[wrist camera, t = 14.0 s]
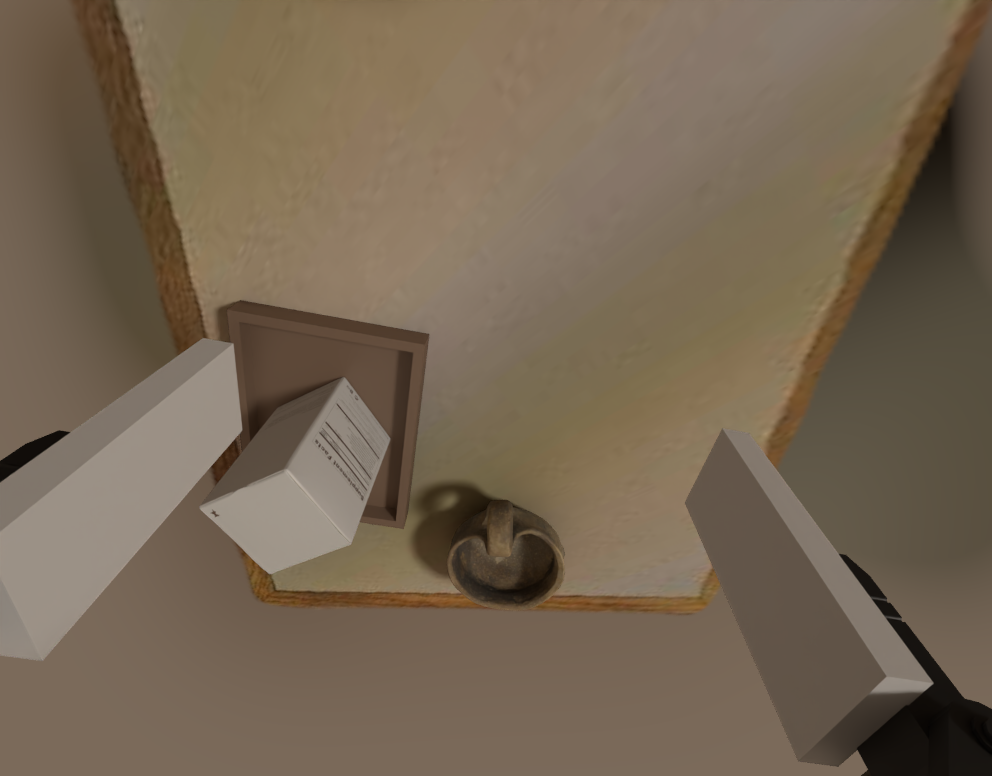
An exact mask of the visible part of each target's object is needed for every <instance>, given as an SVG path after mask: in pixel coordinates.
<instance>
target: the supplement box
mask: <svg viewBox="0 0 992 776" xmlns="http://www.w3.org/2000/svg"><path fill="white" fill-rule="evenodd" d="M389 442H390V437H389V436H388V434H387V433H386V432H385V430H384V429H383V428H382V426H381V425H380V424H379V422H378V421H377V420H376V418H375V417H374V415H373V414H372V413H371V411H370V410H369V409H368V407H367V406H366V405H365V403H364V402H363V401H362V399H361V398H360V397H359V395H358V394H357V393H356V391H355V390H354V389H353V387H352V386H351V385H350V383H349V382H348V381H347V379H346V378H345V377H342V378H339V379H337V380H335V381H333V382H331V383H329V384H326V385H324V386H322V387H320V388H318V389H316V390H314V391H312V392H309V393H307V394H305V395H303V396H301V397H299V398H297V399H295V400H292V401H290V402H288V403H286V404H284V405H282V406H280V407H278V408H277V409H276V410H275V411H274V413H273V414H272V415H271V416H270V418H269V419H268V420H267V421H266V423H265V424H264V425H263V426H262V428H261V429H260V430H259V431H258V433H257V434H256V435H255V436H254V438H253V439H252V440H251V442H250V443H249V444H248V445H247V447H246V448H245V449H244V450H243V452H242V453H241V454H240V456H239V457H238V458H237V459H236V461H235V462H234V463H233V464H232V466H231V467H230V468H229V469H228V471H227V472H226V473H225V475H224V476H223V477H222V478H221V480H220V481H219V482H218V483H217V485H216V486H215V487H214V488H213V490H212V491H211V492H210V494H209V495H208V496H207V497H206V499H205V500H204V501H203V502H202V504H201V505H200V506H199V508H200V510H201V511H202V512H204V513H205V514H206V515H207V516H208V517H209V518H210V519H211V520H213V521H214V522H215V523H216V524H217V525H218V526H219V527H220V528H221V529H222V530H223V531H224V532H225V533H226V534H228V535H229V536H230V537H231V538H232V539H233V540H234V541H235V542H236V543H237V544H238V545H239V546H240V547H241V548H242V549H243V550H244V551H245V552H246V553H247V554H248V555H249V556H250V557H251V558H252V559H253V560H254V561H255V562H256V563H257V564H258V565H259V566H260V567H262V568H263V569H264V570H265V571H266V572H268V573H269V574H272V573H274V572H277V571H279V570H282V569H285V568H288V567H290V566H293V565H296V564H298V563H301V562H304V561H307V560H309V559H312V558H315V557H318V556H320V555H323V554H326V553H328V552H331V551H334V550H337V549H340V548H342V547H345V546H348V545H351V543H352V540H353V538H354V535H355V532H356V530H357V527H358V524H359V522H360V519H361V516H362V514H363V511H364V508H365V506H366V503H367V500H368V498H369V495H370V492H371V490H372V487H373V484H374V482H375V479H376V476H377V474H378V471H379V468H380V466H381V463H382V460H383V458H384V455H385V452H386V450H387V447H388V445H389Z"/></svg>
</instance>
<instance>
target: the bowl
mask: <svg viewBox="0 0 992 776" xmlns="http://www.w3.org/2000/svg"><path fill="white" fill-rule="evenodd" d="M564 556H565V552H564V548H563V546H562V545H561V543H560V540H559V537H558V535H557V533H556V532H555V530H554V529H553V528H552V527H551V526H550V525H549V524H548V523H547V522H546V521H545V520H544V519H542V518H541V517H539V516H537V515H535V514H533V513H531V512H529V511H527V510H523V509H520V508H515V507H513V505H512V503H511V502H510V501H508V500H495V501H490V502H489V504H488V505H487V509H486V510H484V511H482V512H480V513H478V514H476V515H474V516H473V517H471V518H470V519H468V520H467V521H465V522H464V523H463V524H462V525H461V526H460V527H459V528H458V529H457V531H456V533H455V535H454V537H453V539H452V543H451V548H450V551H449V553H448V558H447V570H448V574H449V577H450V579H451V581H452V583H453V585H454V586H455V587H456V588H457V589H458V590H459V591H460V592H461V593H462V594H463V595H465V596H466V597H467V598H468V599H470V600H471V601H473V602H474V603H476V604H479V605H483V606H485V607H490V608H495V609H502V610H507V609H509V610H523V609H530V608H534V607H535V606H537V605H539V604H542V603H543V602H544V601H546V600H547V599H548V598H550V597H551V596H552V595H553V594H554V593H555V592H556V591H557V590H558V589H559V587H560V586H561V584H562V582H563V580H564V575H565V569H564Z"/></svg>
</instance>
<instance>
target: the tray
mask: <svg viewBox="0 0 992 776" xmlns="http://www.w3.org/2000/svg"><path fill="white" fill-rule="evenodd" d="M227 317H228V327H229V336H230V343H233V344H234V354H235V363H236V373H237V383H238V392H239V402H240V412H241V421H242V431H241V432H240V438H241V448H242V452H243V450H244V449H245V448H246V447H247V445H248V444H249V443H250V442H251V440H252V439H253V438H254V436H255V435H256V434H257V433H258V431H259V430H260V429H261V428H262V426H263V425H264V424H265V423H266V421H267V420H268V419H269V418H270V416H271V415H272V414H273V413H274V411H275V410H276V409H277V408H278V407H280V406H282V405H284V404H286V403H288V402H290V401H292V400H295V399H297V398H299V397H301V396H303V395H305V394H307V393H309V392H312V391H314V390H316V389H318V388H320V387H322V386H324V385H326V384H329V383H331V382H333V381H335V380H337V379H339V378H342V377H345V378H346V379H347V381H348V382H349V383H350V385H351V386H352V387H353V389H354V390H355V391H356V393H357V394H358V395H359V397H360V398H361V399H362V401H363V402H364V403H365V405H366V406H367V407H368V409H369V410H370V411H371V413H372V414H373V415H374V417H375V418H376V420H377V421H378V422H379V424H380V425H381V426H382V428H383V429H384V430H385V432H386V433H387V434H388V436H389V437H390V442H389V445H388V447H387V450H386V452H385V455H384V458H383V460H382V463H381V466H380V468H379V471H378V474H377V476H376V479H375V482H374V484H373V487H372V490H371V492H370V495H369V498H368V500H367V503H366V506H365V508H364V511H363V514H362V516H361V519H360V522H362V523H369V524H375V525H382V526H388V527H395V528H401V529H404V526H405V522H406V518H407V515H408V508H409V500H410V491H411V483H412V475H413V466H414V458H415V450H416V441H417V433H418V424H419V416H420V408H421V399H422V391H423V383H424V374H425V366H426V358H427V349H428V341H429V334H426V333H420V332H414V331H409V330H403V329H398V328H392V327H386V326H381V325H375V324H370V323H364V322H359V321H353V320H347V319H342V318H336V317H331V316H325V315H319V314H314V313H308V312H303V311H297V310H292V309H286V308H280V307H275V306H269V305H264V304H258V303H252V302H247V301H241V300H240V301H239V302H237V303H236V304H234V305H233V306H231V307H230V308H228V309H227Z"/></svg>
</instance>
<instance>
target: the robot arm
mask: <svg viewBox="0 0 992 776" xmlns="http://www.w3.org/2000/svg"><path fill="white" fill-rule="evenodd" d="M241 431H242V421H241V412H240V402H239V392H238V383H237V373H236V363H235V354H234V344H233V343H228V342H223V341H217V340H211V339H205V338H202V339H201V340H200V341H198V342H197V343H195V344H194V345H193V346H191V347H190V348H188V349H187V350H186V351H184V352H183V353H181V354H180V355H179V356H177V357H176V358H174V359H173V360H172V361H170V362H169V363H167V364H166V365H165V366H163V367H162V368H160V369H159V370H158V371H156V372H155V373H153V374H152V375H150V376H149V377H148V378H146V379H145V380H143V381H142V382H141V383H139V384H138V385H137V386H135V387H134V388H132V389H131V390H130V391H128V392H127V393H125V394H124V395H123V396H121V397H120V398H118V399H117V400H116V401H114V402H113V403H111V404H110V405H108V406H107V407H106V408H104V409H103V410H101V411H100V412H99V413H97V414H96V415H94V416H93V417H92V418H90V419H89V420H87V421H86V422H85V423H83V424H82V425H80V426H79V427H77V428H76V429H75V430H73V431H72V432H66V431H56V432H54V433H52V434H49V435H47V436H44V437H42V438H39V439H37V440H34V441H32V442H29V443H27V444H25V445H24V446H22V447H20V448H19V449H17V450H16V451H15V452H13V453H11V454H10V455H8V456H7V457H5V458H4V459H3V460H1V461H0V655H2V656H10V657H17V658H25V659H32V660H40V661H43V660H44V658H45V657H46V656H47V655H48V654H49V653H50V652H51V650H52V649H53V648H54V647H55V646H56V645H57V643H58V642H59V641H60V640H61V639H62V638H63V637H64V635H65V634H66V633H67V632H68V631H69V630H70V628H71V627H72V626H73V625H74V624H75V623H76V621H77V620H78V619H79V618H80V617H81V616H82V615H83V614H84V612H85V611H86V610H87V609H88V608H89V607H90V605H91V604H92V603H93V602H94V600H96V598H97V597H98V596H99V595H100V594H101V593H102V591H103V590H104V589H105V588H106V587H107V586H108V585H109V584H110V582H111V581H112V580H113V579H114V578H115V577H116V575H117V574H118V573H119V572H120V571H121V570H122V569H123V567H124V566H125V565H126V564H127V563H128V562H129V560H130V559H131V558H132V557H133V556H134V555H135V554H136V552H137V551H138V550H139V549H140V548H141V547H142V545H143V544H144V543H145V542H146V541H147V540H148V539H149V537H150V536H151V535H152V534H153V533H154V531H155V530H156V529H157V528H158V527H159V526H160V525H161V524H162V522H163V521H164V520H165V519H166V518H167V517H168V515H169V514H170V513H171V512H172V511H173V510H174V508H175V507H176V506H177V505H178V504H179V503H180V502H181V501H182V499H183V498H184V497H185V496H186V494H188V492H189V491H190V490H191V489H192V488H193V487H194V485H195V484H196V483H197V482H198V481H199V480H200V478H201V477H202V476H203V475H204V474H205V473H206V472H207V471H208V469H209V468H210V467H211V466H212V465H213V464H214V462H215V461H216V460H217V459H218V458H219V457H220V456H221V454H222V453H223V452H224V451H225V450H226V449H227V447H228V446H229V445H230V444H231V443H232V442H233V441H234V439H235V438H236V437H237V436H238V435H239V434H240V432H241ZM685 504H686V507H687V509H688V511H689V513H690V516H691V518H692V520H693V523H694V525H695V527H696V529H697V532H698V534H699V536H700V538H701V541H702V543H703V545H704V548H705V550H706V552H707V554H708V557H709V559H710V561H711V564H712V566H713V568H714V570H715V573H716V575H717V577H718V580H719V582H720V584H721V586H722V589H723V591H724V593H725V595H726V598H727V600H728V602H729V605H730V607H731V609H732V611H733V614H734V616H735V618H736V621H737V623H738V625H739V627H740V630H741V632H742V634H743V636H744V639H745V641H746V643H747V645H748V648H749V650H750V652H751V655H752V657H753V659H754V661H755V664H756V666H757V669H758V670H759V673H760V675H761V678H762V680H763V682H764V684H765V687H766V689H767V691H768V694H769V696H770V698H771V700H772V703H773V705H774V707H775V710H776V712H777V714H778V716H779V719H780V721H781V723H782V726H783V728H784V730H785V732H786V735H787V737H788V739H789V741H790V744H791V746H792V748H793V751H794V753H795V755H796V757H797V760H798V761H800V762H807V763H815V764H822V765H830V766H837V767H838V766H839V765H840V764H842V763H843V762H844V761H845V760H846V759H847V758H849V757H850V756H851V755H852V754H853V753H854V752H856V751H857V750H858V752H859V754H860V755H861V757H862V759H863V761H864V763H865V765H866V766H867V768H868V770H867V771H866V772H865V773H864V774H862V775H861V776H992V709H991V708H989V707H987V706H985V705H983V704H981V703H979V702H975V701H971V700H967V699H964V697H963V696H962V695H961V694H960V693H959V691H958V690H957V689H956V687H955V686H954V685H953V683H952V682H951V681H950V680H949V678H948V677H947V676H946V674H945V673H944V672H943V671H942V670H941V668H940V667H939V665H938V664H937V663H936V661H935V660H934V659H933V658H932V656H931V655H930V654H929V652H928V651H927V650H926V649H925V647H924V646H923V644H922V643H921V642H920V641H919V640H918V638H917V637H916V636H915V634H914V633H913V632H912V630H911V629H910V628H909V626H908V625H907V624H906V623H905V622H902V621H901V618H902V617H901V616H900V615H899V613H898V612H897V611H896V609H895V608H894V607H893V606H892V604H891V603H887V598H886V596H885V595H884V594H883V593H882V591H881V590H880V589H879V587H878V586H877V585H876V583H875V582H874V581H873V580H872V579H871V577H870V576H869V575H868V574H867V573H866V572H865V571H863V570H862V569H861V568H860V567H859V566H858V565H857V564H856V563H854V562H853V561H852V560H851V559H850V558H849V557H848V556H846V555H843V554H838V553H837V552H836V550H835V549H834V547H833V546H832V545H831V543H830V542H829V541H828V539H827V538H826V537H825V535H824V534H823V532H822V531H821V530H820V528H819V527H818V526H817V524H816V523H815V522H814V520H813V519H812V518H811V516H810V515H809V513H808V512H807V511H806V509H805V508H804V507H803V505H802V504H801V503H800V501H799V500H798V499H797V497H796V496H795V495H794V493H793V492H792V490H791V489H790V488H789V486H788V485H787V484H786V483H785V481H784V480H783V478H782V477H781V476H780V474H779V473H778V471H777V470H776V469H775V467H774V466H773V465H772V463H771V462H770V461H769V459H768V458H767V457H766V455H765V454H764V452H763V451H762V450H761V448H760V447H759V446H758V444H757V443H756V442H755V440H754V439H753V438H752V436H751V435H750V433H746V432H740V431H735V430H729V429H723V428H722V430H721V432H720V434H719V436H718V438H717V440H716V442H715V444H714V446H713V448H712V450H711V452H710V454H709V456H708V458H707V460H706V462H705V464H704V466H703V468H702V470H701V472H700V474H699V476H698V478H697V480H696V481H695V483H694V485H693V487H692V489H691V491H690V493H689V495H688V497H687V499H686V501H685Z"/></svg>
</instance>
